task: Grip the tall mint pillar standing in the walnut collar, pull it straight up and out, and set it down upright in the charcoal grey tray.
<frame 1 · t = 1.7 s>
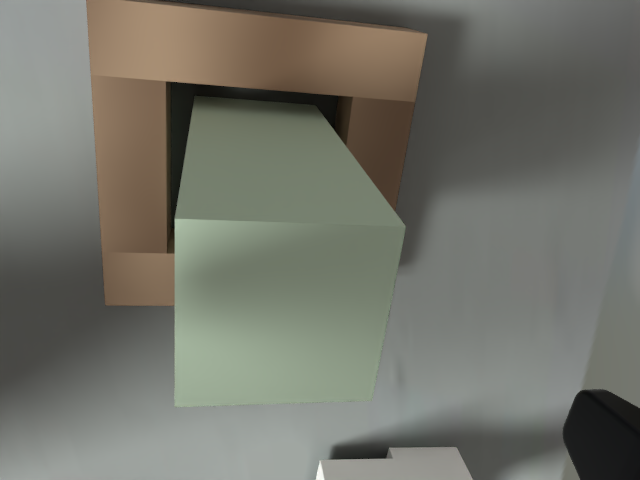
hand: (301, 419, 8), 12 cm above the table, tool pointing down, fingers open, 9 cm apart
walnut collar: (252, 158, 19), on the table
tall mint pillar: (264, 215, 15), in the walnut collar
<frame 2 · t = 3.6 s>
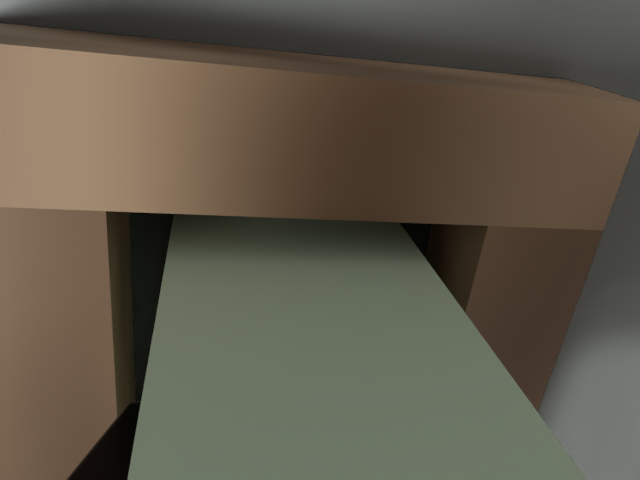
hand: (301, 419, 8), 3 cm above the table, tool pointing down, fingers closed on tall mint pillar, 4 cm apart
walnut collar: (280, 306, 11), on the table
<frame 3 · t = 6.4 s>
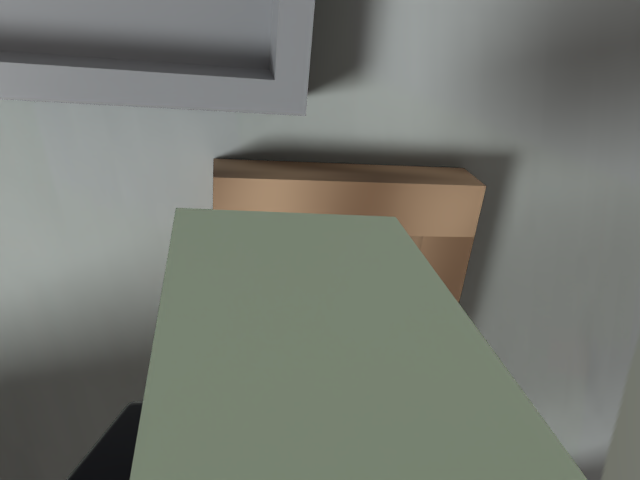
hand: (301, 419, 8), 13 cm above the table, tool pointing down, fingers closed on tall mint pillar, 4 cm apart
walnut collar: (331, 275, 22), on the table
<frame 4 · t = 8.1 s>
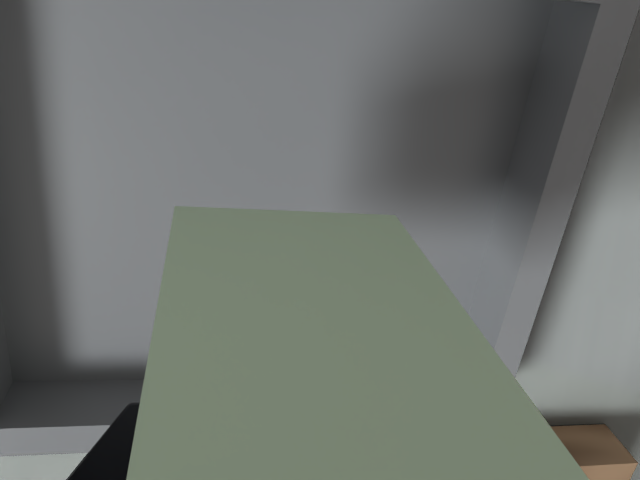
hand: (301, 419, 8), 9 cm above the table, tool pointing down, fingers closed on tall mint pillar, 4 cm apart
grey tray: (261, 197, 16), on the table
when the fingers open (4 cm above the table, at t = 9.5 s): tall mint pillar stays where it is, resting on grey tray.
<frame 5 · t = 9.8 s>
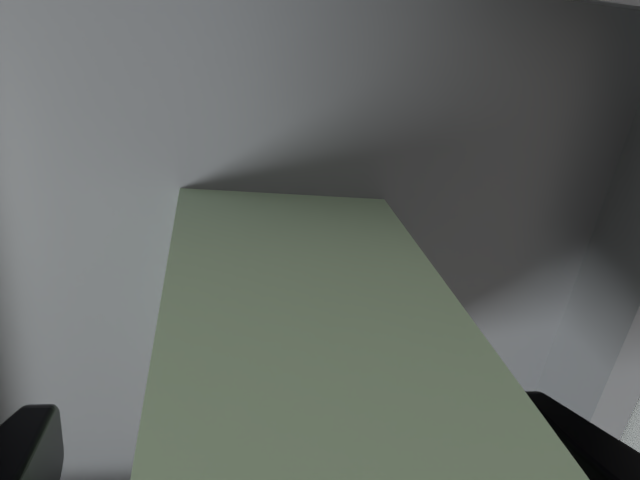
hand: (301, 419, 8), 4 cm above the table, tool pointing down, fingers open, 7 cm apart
grey tray: (273, 269, 12), on the table
tall mint pillar: (314, 479, 7), in the grey tray, point 6 cm above the table
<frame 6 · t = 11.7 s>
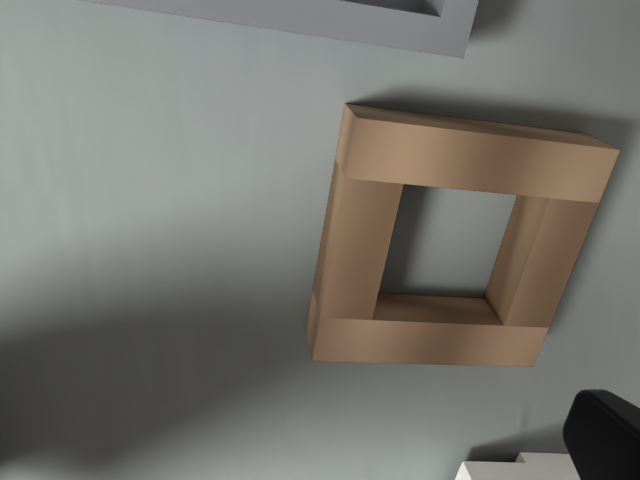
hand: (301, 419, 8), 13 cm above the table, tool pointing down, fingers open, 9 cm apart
walnut collar: (439, 236, 22), on the table
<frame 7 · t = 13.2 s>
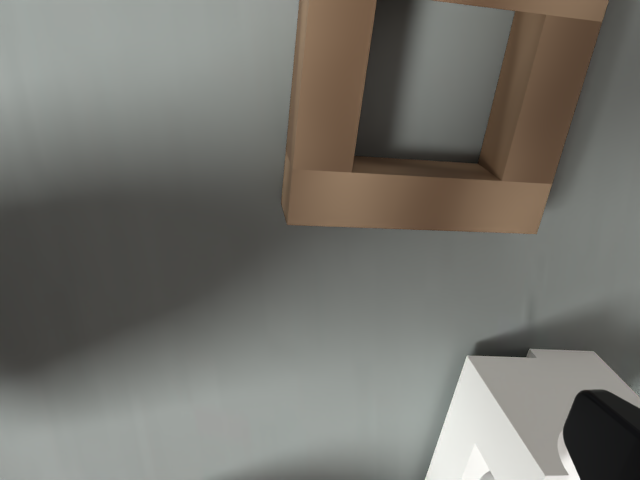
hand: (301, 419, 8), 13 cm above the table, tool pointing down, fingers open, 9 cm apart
walnut collar: (424, 85, 19), on the table
bracket: (485, 443, 29), on the table
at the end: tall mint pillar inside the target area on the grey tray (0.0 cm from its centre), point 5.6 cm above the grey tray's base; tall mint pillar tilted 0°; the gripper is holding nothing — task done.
